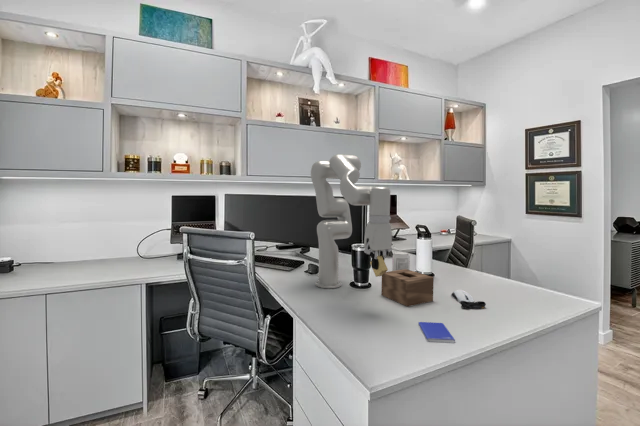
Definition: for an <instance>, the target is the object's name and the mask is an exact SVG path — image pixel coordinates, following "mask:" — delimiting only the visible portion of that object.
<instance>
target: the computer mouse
mask: <svg viewBox="0 0 640 426" xmlns="http://www.w3.org/2000/svg"><path fill="white" fill-rule="evenodd" d="M450 297H451V298H452V299H454V300H456V301H457V303H459V304H460V305H461V306H460V308H461V309H474V310H477V309H480V310H481V309H485V307H486V305H487V303H486V302H485V301H483V300H482V301H481V300H480V301H479V300H478V301H475V300H474V297H473V296H472V295H471V294H470V293H469V292H467V291H465V290H463V289H457V290H454V291H452V293H451V294H450Z"/></svg>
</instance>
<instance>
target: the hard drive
mask: <svg viewBox="0 0 640 426" xmlns="http://www.w3.org/2000/svg"><path fill="white" fill-rule="evenodd" d="M417 323H418V327H419V329H420V330H421V332H422V335H423V336H424V339H425V340H426V342H427V343H429V342H431V343H449V344H450V343H453V344H454V343H456V339H455V338H454V337H453V335H452V334H451V332H450V331H449V330H448V328H447V327H446V326H445V324H444V323H443V322H429V321H428V322H427V321H425V322H424V321H420V322H419V321H418V322H417Z"/></svg>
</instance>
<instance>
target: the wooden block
mask: <svg viewBox="0 0 640 426" xmlns="http://www.w3.org/2000/svg"><path fill="white" fill-rule="evenodd" d="M377 259H378V270H376V269H373V268H372V260H371V261H370V262H369V264H370V266H371V268H372V270H373V273H374V275H375V277H382V275H383V274H384V273H385V272H388V270H389V269H388V266H387V264H386V262H385V259H384V260H383V257H382V256H379V255H377Z"/></svg>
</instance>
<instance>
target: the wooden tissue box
mask: <svg viewBox="0 0 640 426" xmlns="http://www.w3.org/2000/svg"><path fill="white" fill-rule="evenodd" d="M434 279H435V277H433V276H431V275H427V274H424V273H420V272H417V271H413V270H410V269H409V270H407V269H403V270H396V271H392V270H391V271H390V270H389V271H386V272H385V273H384V274H383V275H382V276H381V293H380V294H381V296H382V297H385V298H387V299H389V300H392V301H393V302H397V303H399V304H401V305H403V306H405V307H411V306H417V305H421V304H426V303H430V302H434V282H435V281H434Z"/></svg>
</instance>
